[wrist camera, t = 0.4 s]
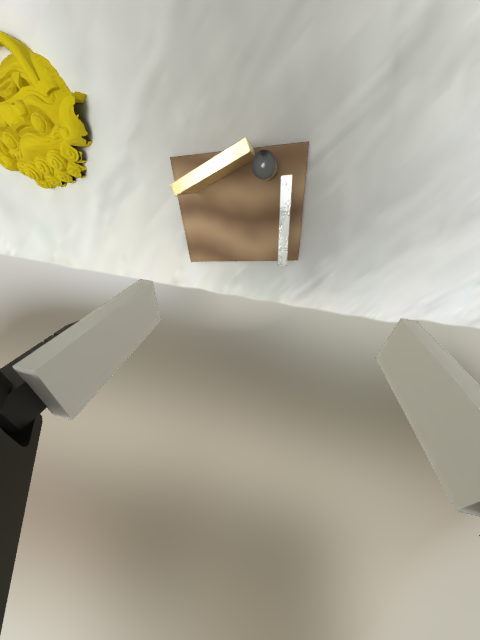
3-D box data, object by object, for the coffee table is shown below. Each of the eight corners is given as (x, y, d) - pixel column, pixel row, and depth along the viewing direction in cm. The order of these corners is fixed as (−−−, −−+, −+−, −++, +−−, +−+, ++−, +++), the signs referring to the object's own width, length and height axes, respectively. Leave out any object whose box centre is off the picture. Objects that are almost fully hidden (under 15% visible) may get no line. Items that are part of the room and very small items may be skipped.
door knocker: (-23, 2, 25) (-73, -28, 21) (99, 104, 28) (73, 92, 24) (-10, 147, 34) (-44, 142, 30) (81, 211, 37) (60, 214, 33)
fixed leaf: (259, 159, 27) (251, 151, 20) (291, 156, 26) (294, 145, 19) (260, 251, 34) (254, 269, 27) (286, 251, 33) (286, 269, 26)
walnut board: (173, 158, 30) (169, 157, 29) (308, 142, 26) (308, 141, 25) (192, 259, 38) (190, 261, 37) (297, 258, 34) (297, 260, 33)
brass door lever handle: (269, 137, 25) (265, 124, 20) (279, 175, 27) (278, 172, 22) (190, 184, 30) (169, 184, 24) (204, 214, 32) (187, 220, 26)
